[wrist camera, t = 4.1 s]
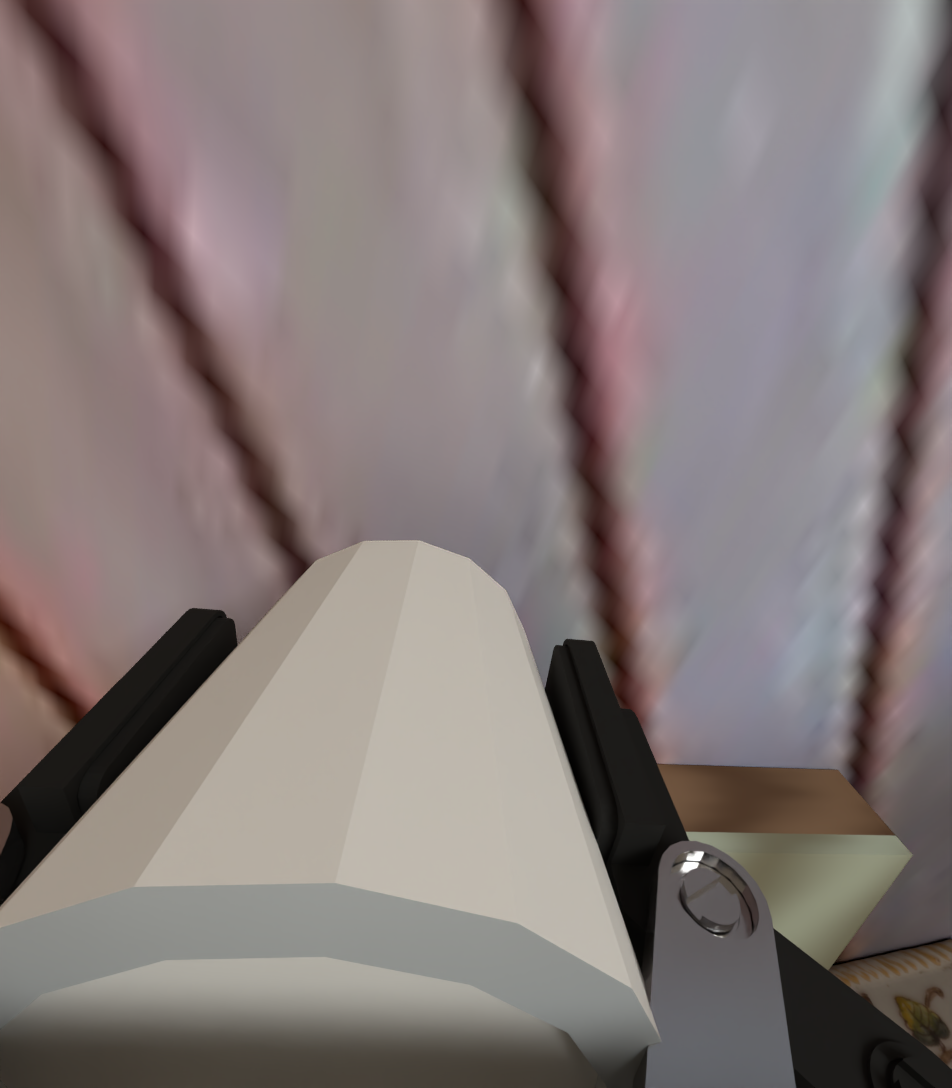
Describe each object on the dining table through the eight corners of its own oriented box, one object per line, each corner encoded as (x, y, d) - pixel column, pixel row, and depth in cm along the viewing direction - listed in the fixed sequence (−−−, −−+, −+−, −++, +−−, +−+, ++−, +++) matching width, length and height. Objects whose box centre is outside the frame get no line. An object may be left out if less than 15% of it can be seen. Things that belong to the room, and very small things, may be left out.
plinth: (837, 769, 17) (912, 855, 14) (735, 947, 21) (778, 1038, 19) (531, 759, 16) (549, 849, 13) (491, 949, 20) (498, 1045, 18)
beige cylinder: (378, 796, 13) (290, 1261, 6) (178, 619, 10) (-276, 1087, 4) (606, 681, 11) (784, 1142, 5) (434, 440, 9) (347, 745, 3)
